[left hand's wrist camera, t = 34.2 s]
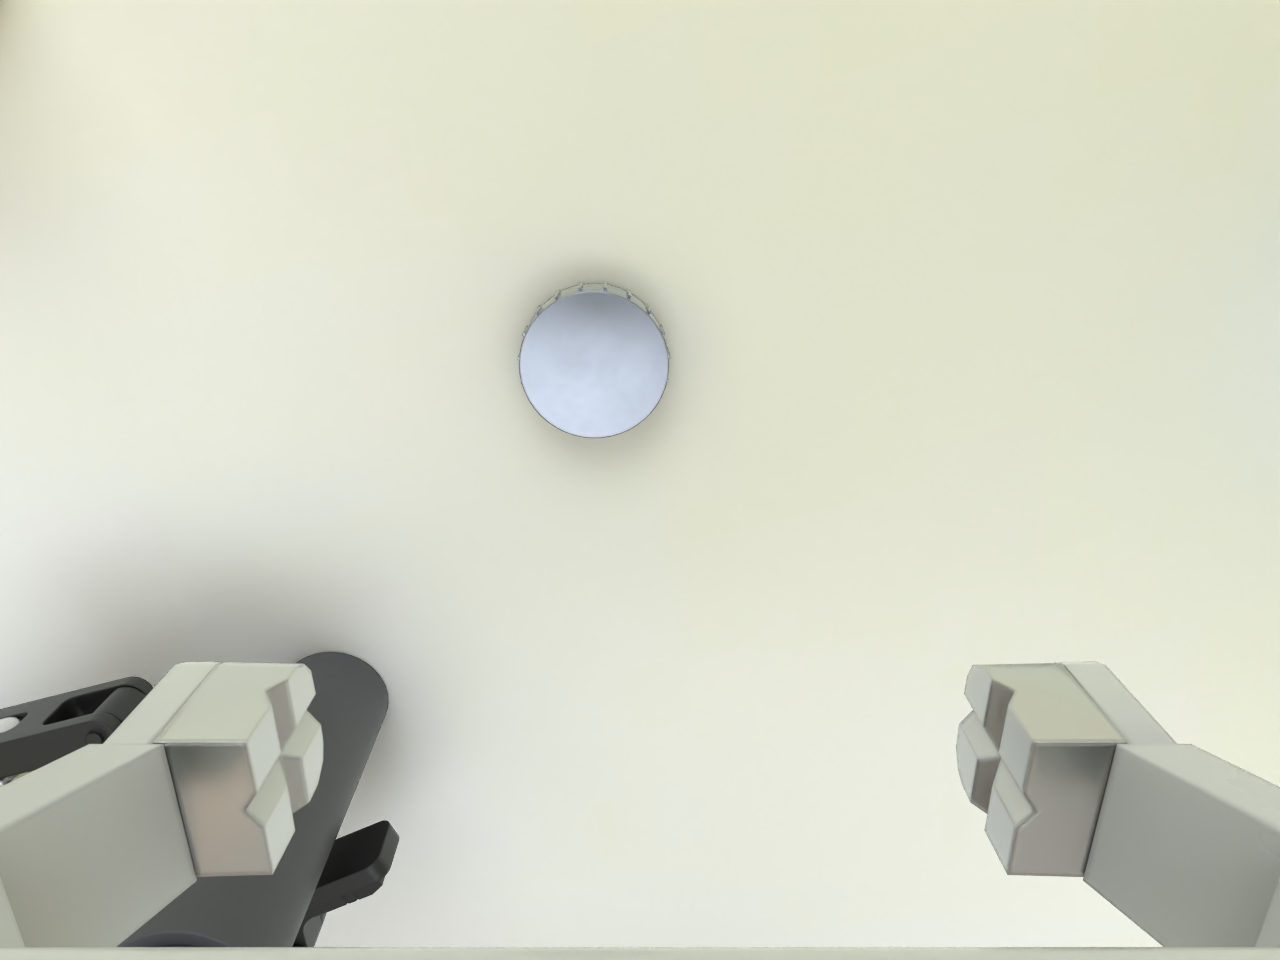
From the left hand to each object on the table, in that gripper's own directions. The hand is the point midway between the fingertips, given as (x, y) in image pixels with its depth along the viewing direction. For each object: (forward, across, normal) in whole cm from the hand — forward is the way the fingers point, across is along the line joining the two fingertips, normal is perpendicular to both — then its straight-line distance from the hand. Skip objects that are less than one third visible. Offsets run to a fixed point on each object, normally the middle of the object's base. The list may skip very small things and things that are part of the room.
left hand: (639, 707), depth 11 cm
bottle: (+20, +12, +14) cm, 28 cm away
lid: (+20, +2, 0) cm, 20 cm away
